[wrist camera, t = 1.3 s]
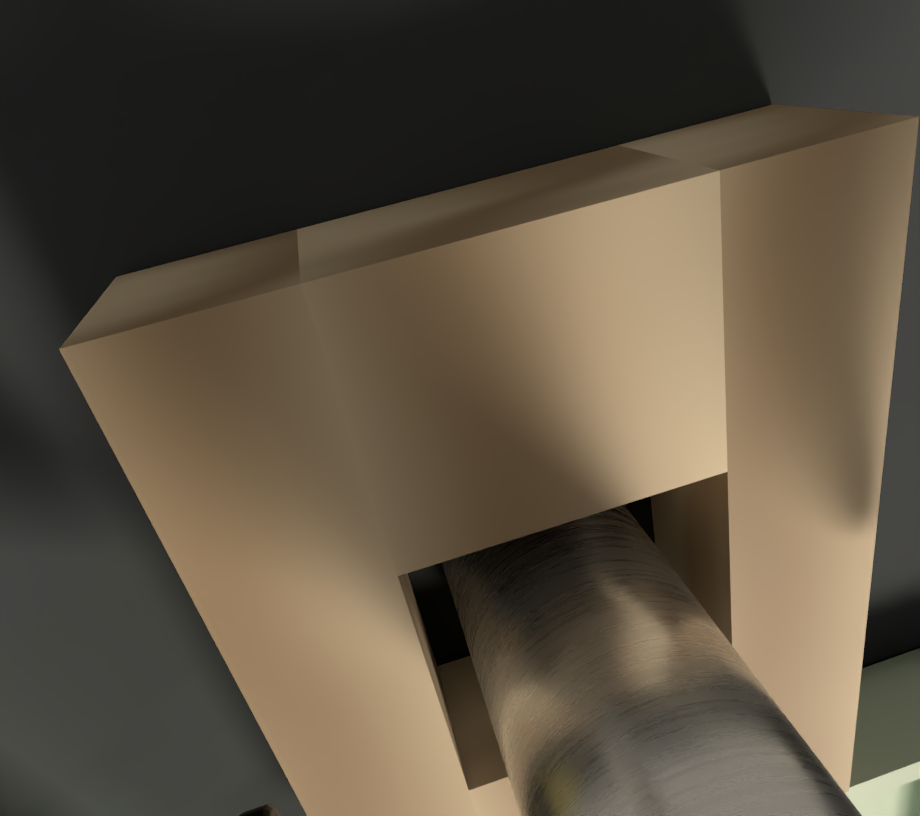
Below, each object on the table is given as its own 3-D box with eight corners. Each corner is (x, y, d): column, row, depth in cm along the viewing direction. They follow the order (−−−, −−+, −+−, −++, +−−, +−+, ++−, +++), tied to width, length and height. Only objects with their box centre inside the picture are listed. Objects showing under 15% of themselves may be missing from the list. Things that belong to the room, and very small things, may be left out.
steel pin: (630, 404, 11) (1532, 1305, 3) (648, 587, 13) (1238, 1441, 5) (390, 478, 11) (705, 1730, 3) (445, 654, 13) (726, 1702, 5)
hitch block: (774, 104, 10) (919, 117, 7) (768, 687, 15) (849, 791, 13) (115, 276, 9) (59, 348, 6) (370, 827, 14) (386, 963, 12)
